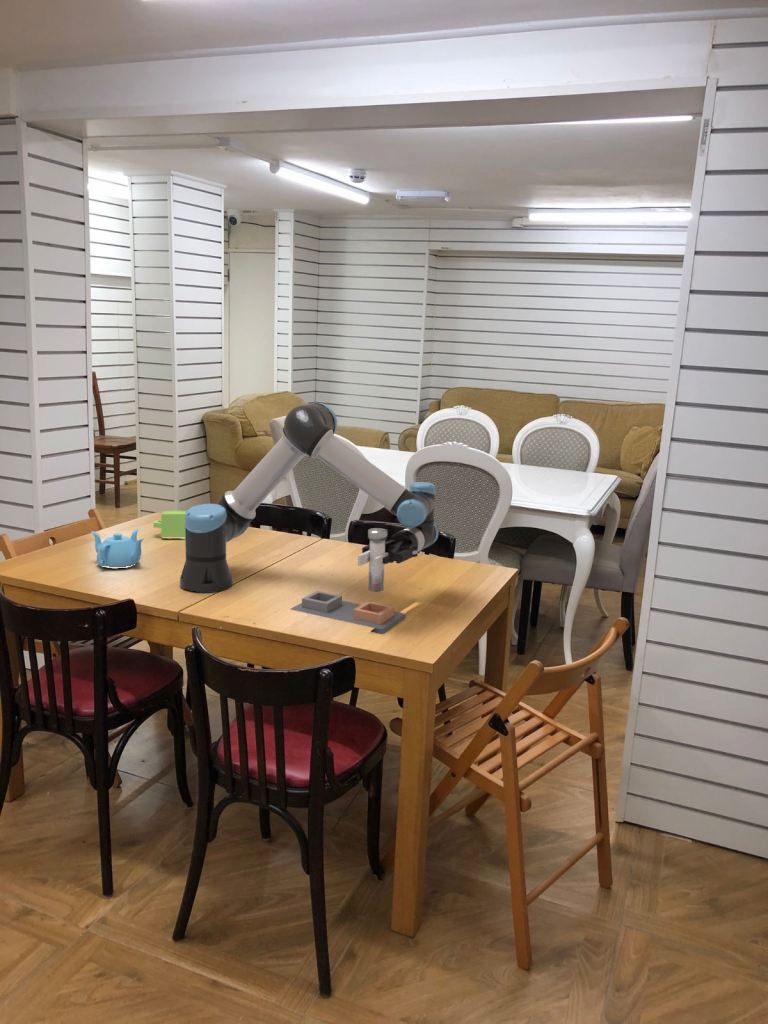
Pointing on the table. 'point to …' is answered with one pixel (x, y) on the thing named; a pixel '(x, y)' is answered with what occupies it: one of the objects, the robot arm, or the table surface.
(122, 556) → the teapot
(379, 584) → the pin
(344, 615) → the dock board
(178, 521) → the gearbox
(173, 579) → the table surface
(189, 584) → the robot arm
